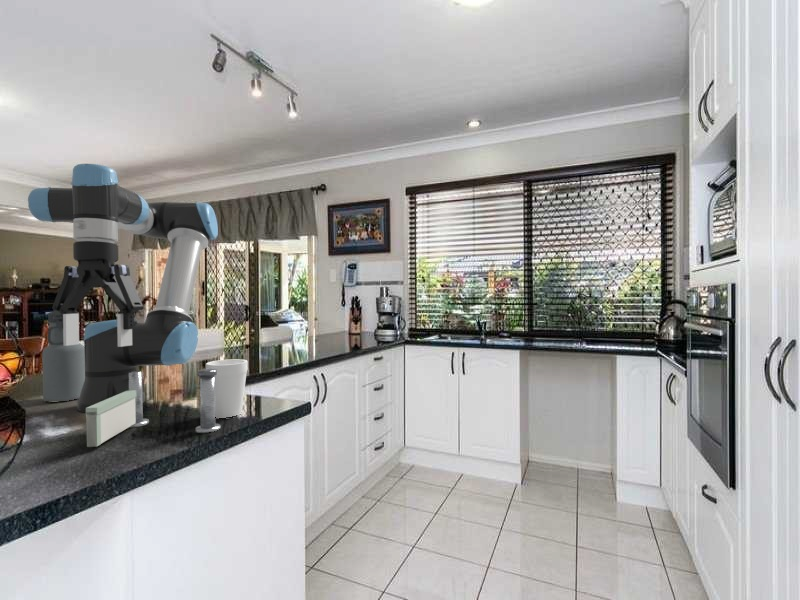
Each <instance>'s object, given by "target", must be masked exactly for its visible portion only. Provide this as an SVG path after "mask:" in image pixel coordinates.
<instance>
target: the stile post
mask: <svg viewBox="0 0 800 600" xmlns="http://www.w3.org/2000/svg"><path fill="white" fill-rule="evenodd" d="M215 375H217V369H206V368H203V369H199V370H197V377H199V412H200V413H199V414H200V417H199V418H200V421H199V422H200V425H198V426H196V427H195V428H194V429H195V430H194V431H195V433H196V434H210V433H209V432H211V433H215V432H217V430H218V431H220V430H221V427H222V426H221V424H220V423H216V422H217V421H216V418H215ZM219 429H220V430H219ZM214 431H215V432H214Z"/></svg>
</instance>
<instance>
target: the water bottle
mask: <svg viewBox="0 0 800 600" xmlns="http://www.w3.org/2000/svg"><path fill="white" fill-rule="evenodd" d="M61 305H63V304H61ZM77 312H78V311H77ZM73 314H79V315H80V312H78V313H73ZM47 318H48V319H47V320H48V322H47V325H49V327H48V329H47V343H48V345H47V346H45V347H44V348H43V350H42V351H41V352H42V353H41V355H42V356H41V357H42V358H41V359H42V398H43V402H46V401H67V402H70V401H69V400H73V401H75V400H74V399H77V400H78V399H79V398H80V394H81V390H82V387H83V384H84V381H85V353H84V344H81V343H80V342H79V344H77V345H68V346H64V345H63V329H62V314H61V313H60V312H59V311H54V310H53V311H50V312H48V313H47Z"/></svg>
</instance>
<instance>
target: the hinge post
mask: <svg viewBox="0 0 800 600" xmlns="http://www.w3.org/2000/svg"><path fill="white" fill-rule="evenodd" d="M131 390H136V397H135V413H136V423H135V424H133V425H132V426H130V427H128V428H127V429H130V428H131V429H132V428H140V427H143V426H146V425H149V423H150V420H149V418H144V413H143V411H144V410H143V405H144V404H143V403H144V402H143V401H142V390H143V372H142V371H141V370H137V371H134V372H129V391H131Z"/></svg>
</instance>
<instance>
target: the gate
mask: <svg viewBox="0 0 800 600" xmlns="http://www.w3.org/2000/svg"><path fill="white" fill-rule="evenodd" d="M135 397H136V390H131V391H125V392H122V393H120V394H118V395H115V396H113V397H111V398H108V399H106V400H104V401H101V402H99V403H96V404H94V405H92V406H89V407H87V408H86V412H85V416H86V447H87V448H92V447H98V446H101V444H103V443H105V442H106V441H108V440H110V439H111V438H113V437H114V436H116V435H118V434H120V433H122V432H123V431H125V430H126V429H129V428H128V427H130V426H132V425H133V424H135V423H136V413H135Z"/></svg>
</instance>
